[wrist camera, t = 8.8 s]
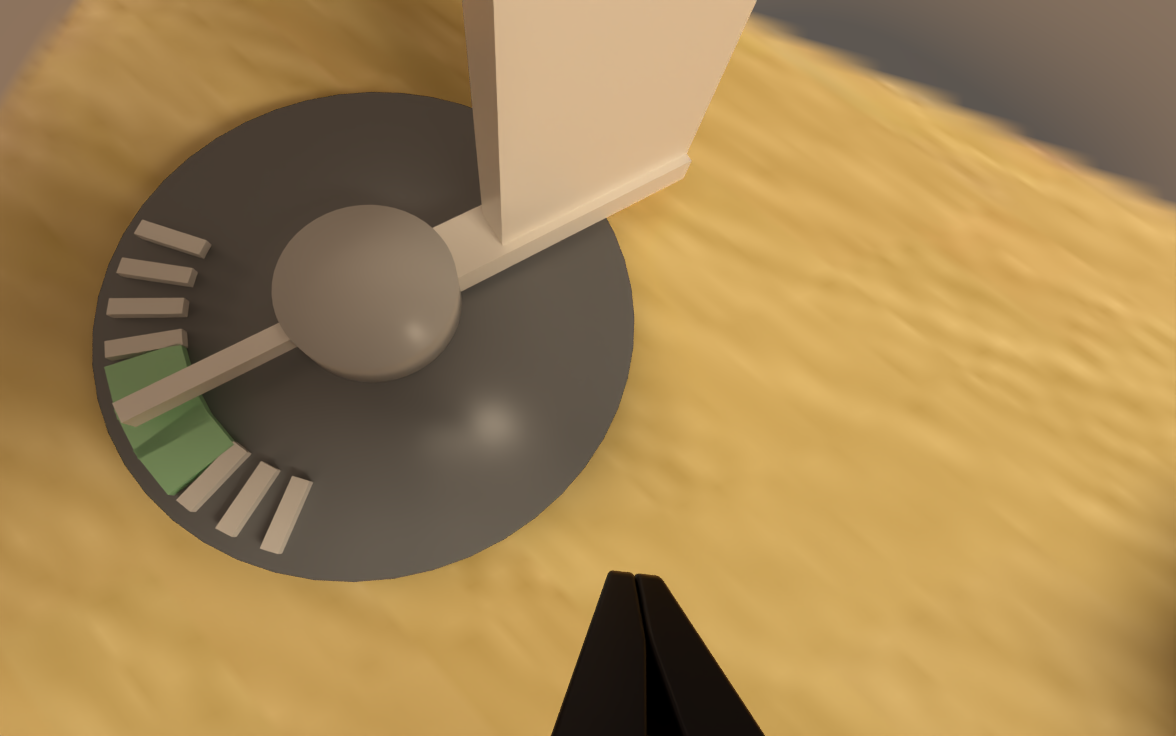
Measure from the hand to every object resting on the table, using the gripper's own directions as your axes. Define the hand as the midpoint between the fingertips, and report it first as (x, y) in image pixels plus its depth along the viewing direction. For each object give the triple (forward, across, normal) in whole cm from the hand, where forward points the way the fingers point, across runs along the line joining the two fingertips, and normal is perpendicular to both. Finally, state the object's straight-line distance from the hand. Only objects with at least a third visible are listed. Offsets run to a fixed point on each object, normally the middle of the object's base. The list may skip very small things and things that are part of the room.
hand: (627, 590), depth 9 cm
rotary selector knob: (+11, +5, -1) cm, 12 cm away
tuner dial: (+11, +7, +1) cm, 13 cm away
